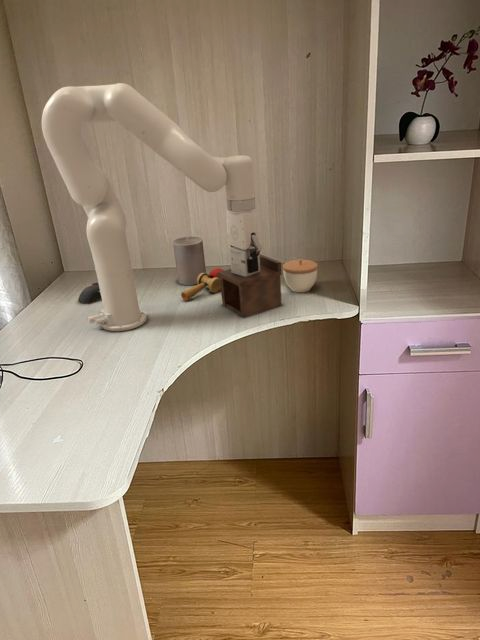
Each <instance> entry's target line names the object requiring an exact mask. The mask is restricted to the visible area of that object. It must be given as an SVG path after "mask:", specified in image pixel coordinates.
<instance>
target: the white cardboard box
mask: <svg viewBox="0 0 480 640" xmlns="http://www.w3.org/2000/svg"><path fill="white" fill-rule="evenodd" d="M250 247H253V246H250ZM252 251H253V249H252V250H250V252H251V253H252ZM260 254H261V253H260ZM260 254H259V257H258V269H259V270H258V271H256V272H253V273H248V266H247V259H249V258H248V255H247V251H246V250H242V249H239V248H236V247H232V248H231V247H230V248H229V255H230V256H229V257H230V269H231V272H232V273H234V274H237V275H241V276H244V277H247V276H250V275H252V274H255V273H258V272H260Z"/></svg>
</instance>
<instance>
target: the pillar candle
mask: <svg viewBox="0 0 480 640" xmlns="http://www.w3.org/2000/svg"><path fill="white" fill-rule="evenodd" d="M172 246H173V252H174V261H175V268H176V275H177V283H178V284H180V285H182V286H183V285H184V286H196V285H198V284H197V278H198V276H199V275H200V274H201V273H206V274H207V269H206V268H207V266H206V261H205V251H204V240H203V238H202V237H199V236H185V237H179V238H176V239H174V240H173V241H172Z"/></svg>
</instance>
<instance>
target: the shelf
mask: <svg viewBox="0 0 480 640" xmlns="http://www.w3.org/2000/svg"><path fill="white" fill-rule="evenodd" d="M223 270H224V269H223ZM282 274H283V271H282V262H281V261H279V260H277V259H274V258H271V257H269V256H266V255H263V254H261V253H260V272H258V273H255V274H252V275H250V276H247V277H244V276H241V275H237V274H234V273H232V272H231V268H229V269H225V270H224V271H221V272H218V276H219V277H220V285H221V288H220V294H221V303H222V306H223V307H225V308H228V309H230V310H231V311H233V312H234V313H237V314H239V315H240V316H241V317H242V318H247V317H251V316H254V315H256V314H259V313H262V312H265V311H269V310H272V309H275V308H278V307H281V306H282V286H281V285H282V284H281V276H282Z"/></svg>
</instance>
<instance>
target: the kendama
mask: <svg viewBox="0 0 480 640" xmlns="http://www.w3.org/2000/svg"><path fill="white" fill-rule="evenodd" d="M221 271H224V269H223V268H220V267H216V268H212V269H211V271H210V272H209V274H208V273H207V272H206V273H201V274H200V275H199V276H198V278H197V284H195V285H193V286H191V287H189V288H188V289H186V290H184V291H182V292H181V293H180V296H181V298H182V300H183V301H184V302H188V301H189V300H190V299H192V298H193V297H195V296H196V295H197V294H199V293H201V291H202V290H204V289H205V288H206V287H207V288H208V290H209V291H210V292H212V293H218V292H219V291H221V285H220V277H219V276H218V272H221Z"/></svg>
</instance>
